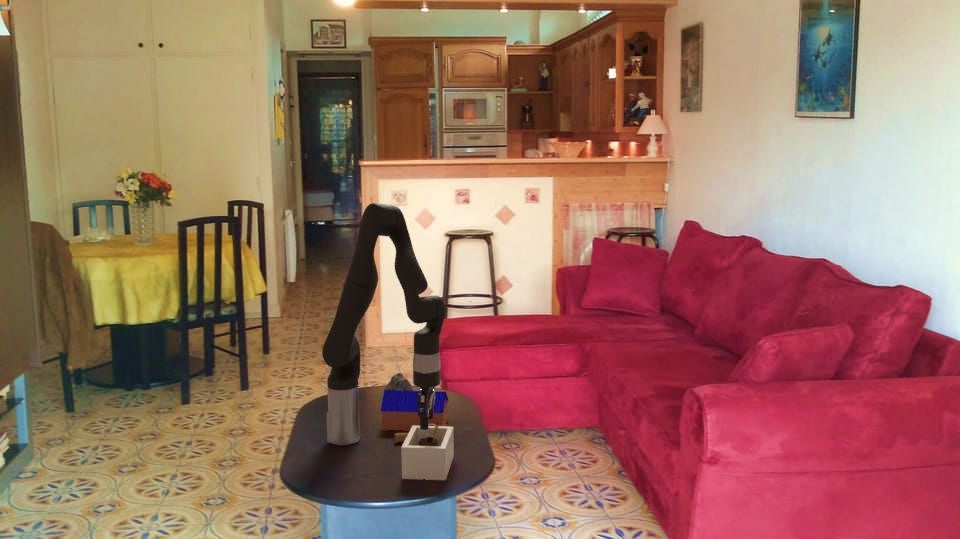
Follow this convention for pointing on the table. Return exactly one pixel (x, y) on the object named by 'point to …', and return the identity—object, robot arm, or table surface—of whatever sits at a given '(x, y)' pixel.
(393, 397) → the house
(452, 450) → the open rectangular box
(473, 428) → the table surface
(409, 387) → the mineral rock
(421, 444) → the utensil holder
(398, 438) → the kendama
